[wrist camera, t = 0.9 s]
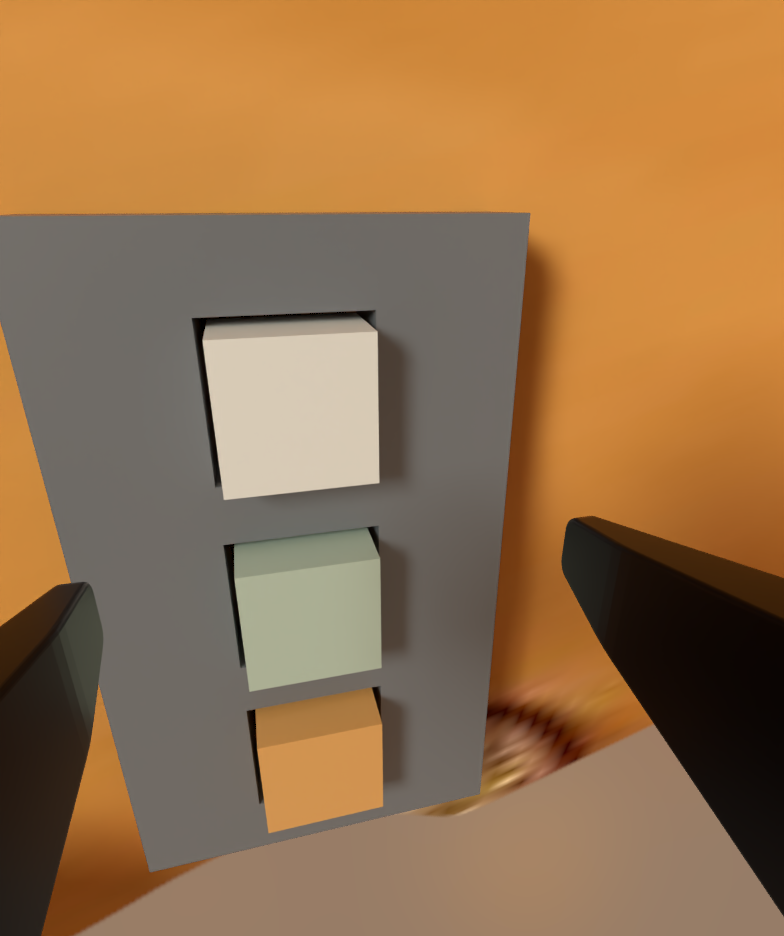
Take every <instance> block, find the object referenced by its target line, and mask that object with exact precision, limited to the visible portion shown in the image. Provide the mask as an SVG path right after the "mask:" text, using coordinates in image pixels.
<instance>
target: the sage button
mask: <svg viewBox="0 0 784 936" xmlns="http://www.w3.org/2000/svg"><path fill="white" fill-rule="evenodd" d="M234 579H235V587H236V594H237V602H238V609H239V617H240V624H241V632H242V639H243V647H244V654H245V661H246V669H247V676H248V684H249V691H250V692H251V691H257V690H262V689H268V688H273V687H279V686H284V685H290V684H296V683H301V682H307V681H312V680H318V679H323V678H329V677H334V676H340V675H345V674H351V673H356V672H362V671H367V670H373V669H379V668H382V665H381V581H380V557H379V554H378V552H377V550H376V547H375V545H374V543H373V540H372V538H371V535H370V533H369V531H368V528H367V527H363V528H355V529H347V530H339V531H331V532H323V533H315V534H307V535H300V536H292V537H284V538H276V539H268V540H260V541H252V542H244V543H236V544H234Z"/></svg>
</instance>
